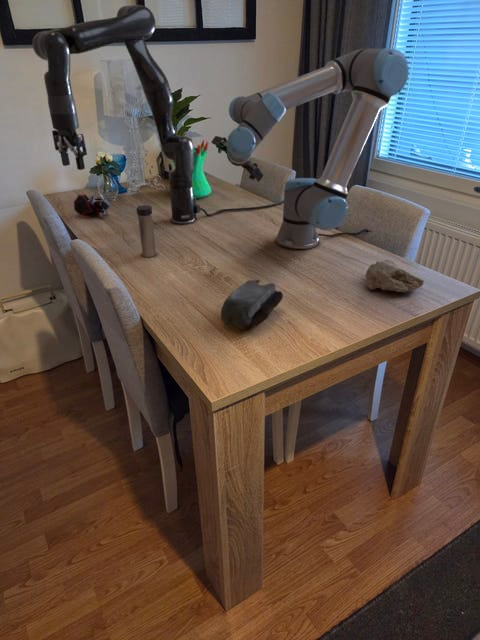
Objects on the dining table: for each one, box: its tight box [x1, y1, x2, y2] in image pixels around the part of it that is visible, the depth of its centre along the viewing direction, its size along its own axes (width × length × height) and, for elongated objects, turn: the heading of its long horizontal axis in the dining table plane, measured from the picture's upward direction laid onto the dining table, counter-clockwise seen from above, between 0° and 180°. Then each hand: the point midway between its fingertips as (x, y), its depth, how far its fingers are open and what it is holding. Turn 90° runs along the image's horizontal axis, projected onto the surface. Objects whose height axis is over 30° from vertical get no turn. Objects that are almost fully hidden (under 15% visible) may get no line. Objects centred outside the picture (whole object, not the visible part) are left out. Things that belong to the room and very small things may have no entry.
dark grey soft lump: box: [220, 279, 284, 332], centre depth 117 cm, size 18×11×8 cm, turn 152°
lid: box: [136, 204, 153, 216], centre depth 147 cm, size 5×5×2 cm
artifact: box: [365, 259, 424, 293], centre depth 134 cm, size 18×8×15 cm
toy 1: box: [73, 194, 111, 220], centre depth 187 cm, size 12×9×15 cm
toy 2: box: [168, 137, 212, 200], centre depth 210 cm, size 20×20×25 cm
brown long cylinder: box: [137, 213, 157, 258], centre depth 151 cm, size 4×4×16 cm
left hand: (73, 167), depth 141 cm, fingers open, 8 cm apart
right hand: (236, 162), depth 155 cm, fingers open, 13 cm apart
